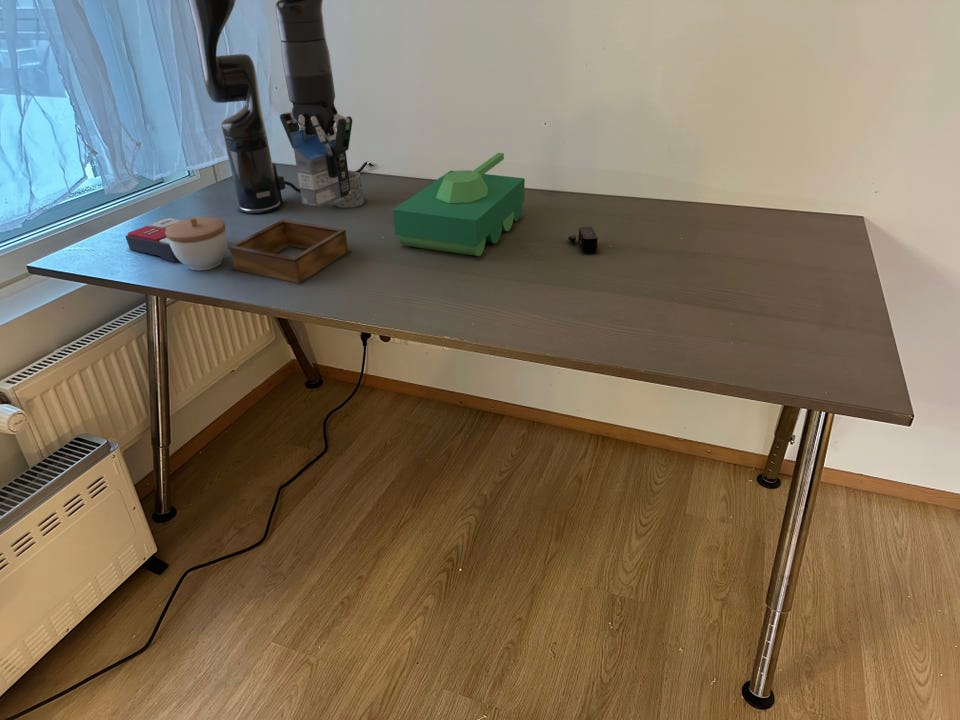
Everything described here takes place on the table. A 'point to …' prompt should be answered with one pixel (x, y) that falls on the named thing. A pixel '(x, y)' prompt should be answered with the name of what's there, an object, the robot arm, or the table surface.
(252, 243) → the wooden square tray
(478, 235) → the green tank
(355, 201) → the mug
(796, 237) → the table surface
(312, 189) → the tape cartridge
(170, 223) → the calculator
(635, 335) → the table surface
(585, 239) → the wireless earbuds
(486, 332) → the table surface
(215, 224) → the trinket box
